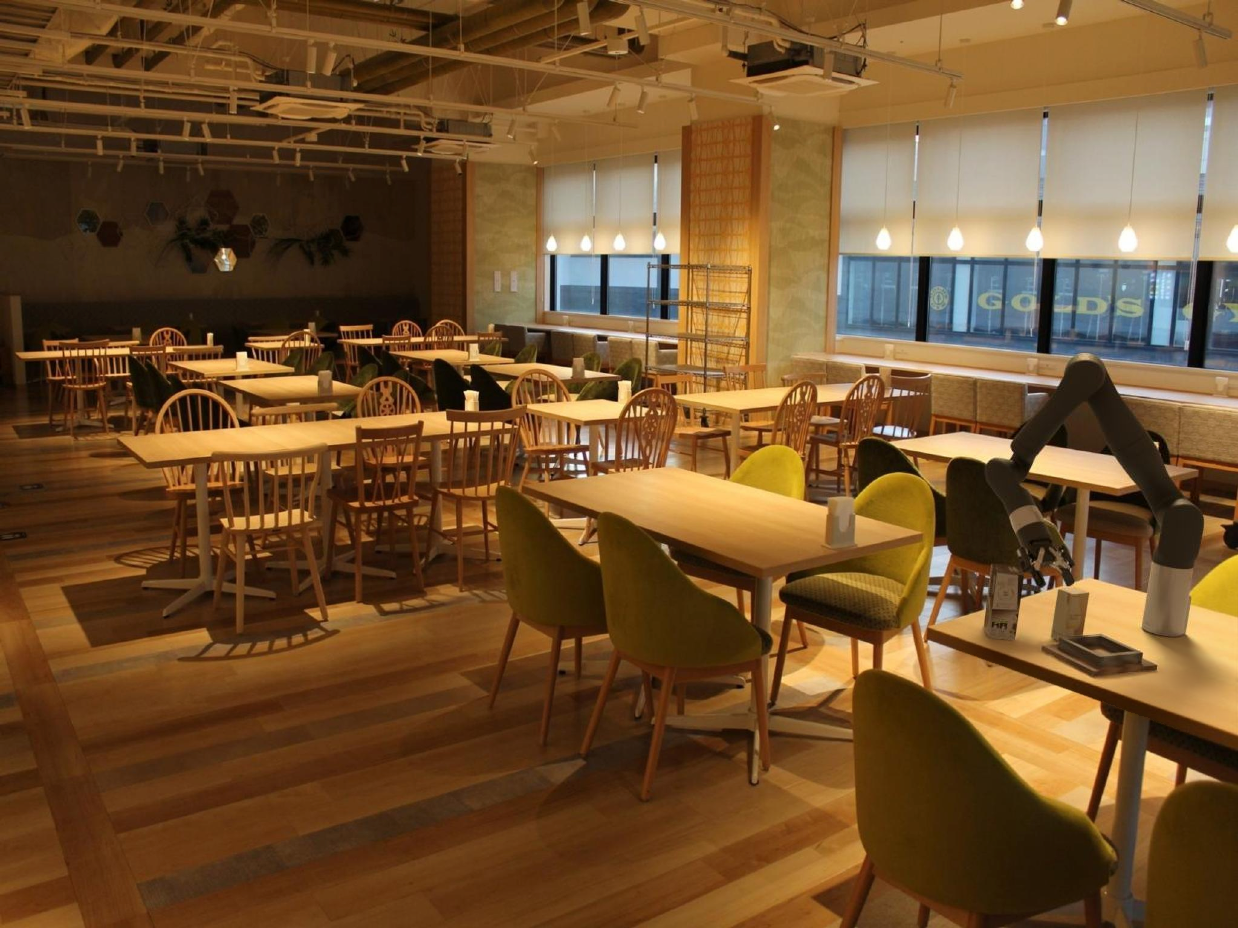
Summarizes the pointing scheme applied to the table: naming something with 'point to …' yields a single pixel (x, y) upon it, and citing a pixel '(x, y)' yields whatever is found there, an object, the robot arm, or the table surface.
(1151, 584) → the robot arm
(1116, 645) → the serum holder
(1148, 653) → the table surface
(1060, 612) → the skincare box
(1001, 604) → the coffee box
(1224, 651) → the table surface
